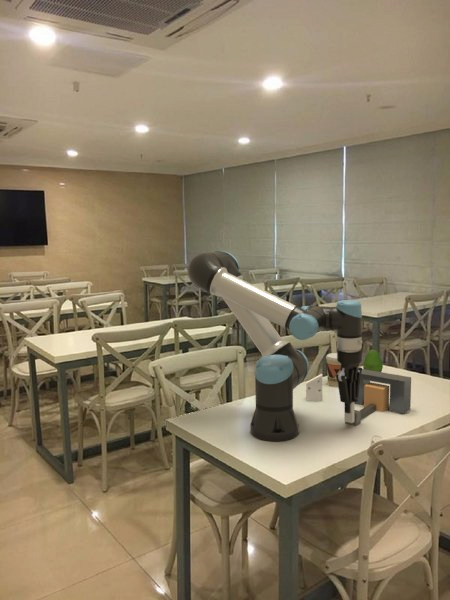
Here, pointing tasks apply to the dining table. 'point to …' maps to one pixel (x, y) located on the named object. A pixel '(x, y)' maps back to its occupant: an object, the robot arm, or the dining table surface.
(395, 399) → the housing
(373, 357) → the avocado
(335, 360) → the coffee cup
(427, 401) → the dining table surface
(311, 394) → the white angled block
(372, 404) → the plug
